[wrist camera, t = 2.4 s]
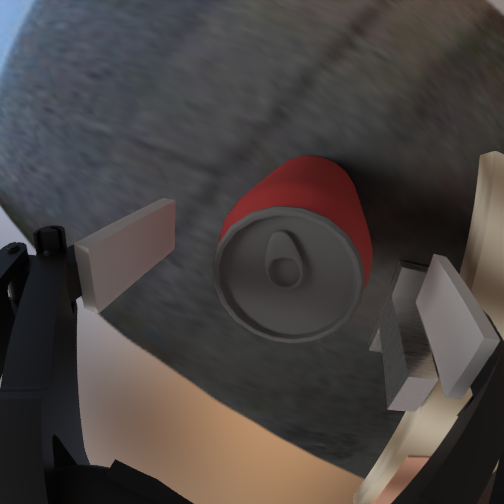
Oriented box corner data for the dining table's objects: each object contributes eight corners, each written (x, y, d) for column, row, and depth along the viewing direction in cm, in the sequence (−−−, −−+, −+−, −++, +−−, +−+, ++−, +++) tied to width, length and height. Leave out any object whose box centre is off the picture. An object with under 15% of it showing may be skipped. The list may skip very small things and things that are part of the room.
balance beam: (478, 154, 14) (495, 149, 12) (585, 208, 12) (602, 210, 10) (352, 495, 19) (352, 513, 17) (459, 493, 17) (464, 507, 15)
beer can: (352, 150, 19) (377, 183, 9) (359, 241, 22) (375, 352, 11) (258, 160, 21) (180, 203, 11) (272, 246, 24) (219, 351, 13)
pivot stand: (399, 260, 21) (428, 342, 13) (543, 295, 18) (589, 359, 10) (368, 341, 25) (371, 430, 16) (507, 360, 22) (535, 429, 13)
